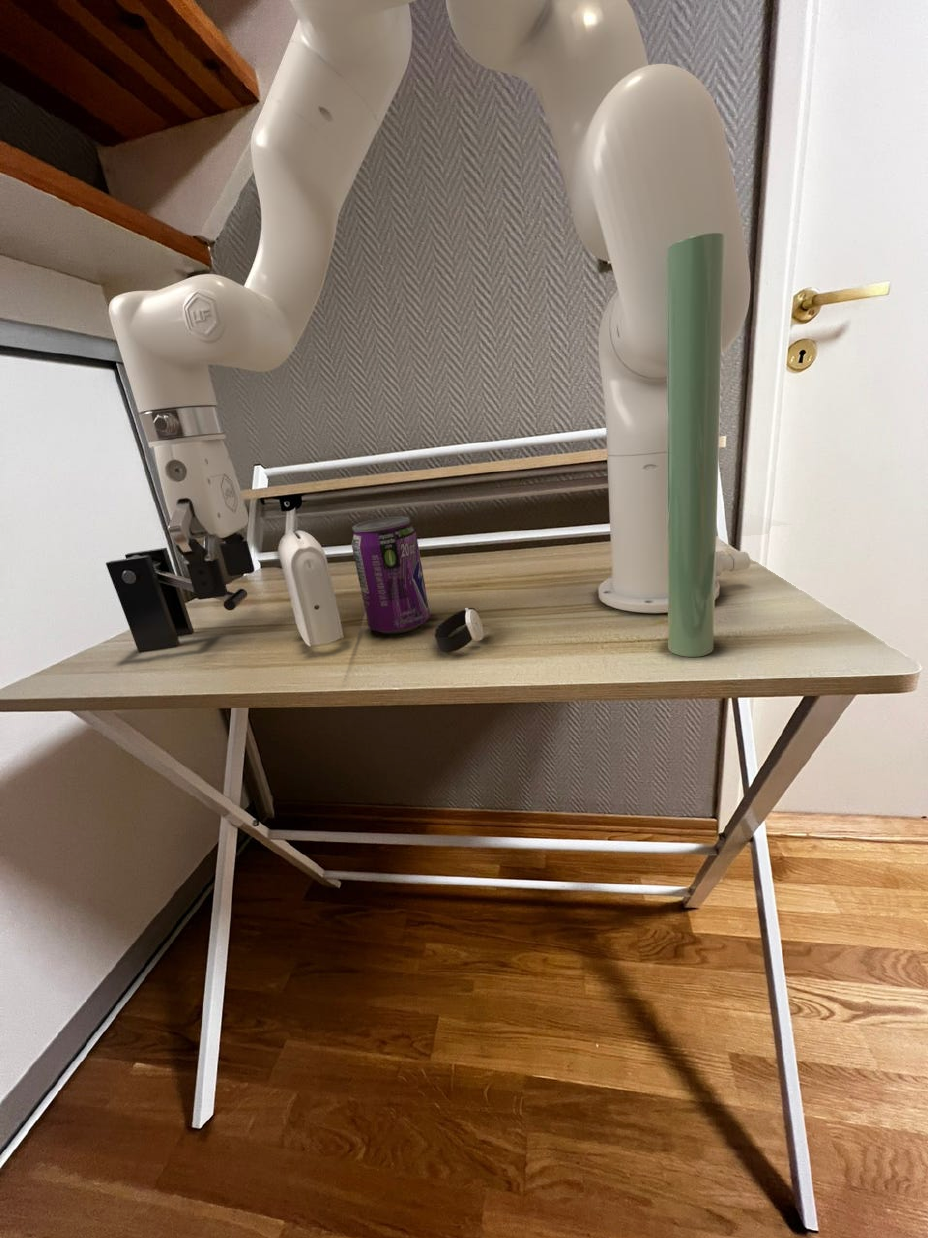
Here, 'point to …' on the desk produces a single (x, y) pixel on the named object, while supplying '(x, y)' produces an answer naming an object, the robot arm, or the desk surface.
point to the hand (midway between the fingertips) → (228, 584)
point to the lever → (229, 599)
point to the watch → (462, 637)
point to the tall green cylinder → (693, 437)
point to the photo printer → (310, 588)
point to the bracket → (150, 600)
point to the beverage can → (390, 574)
